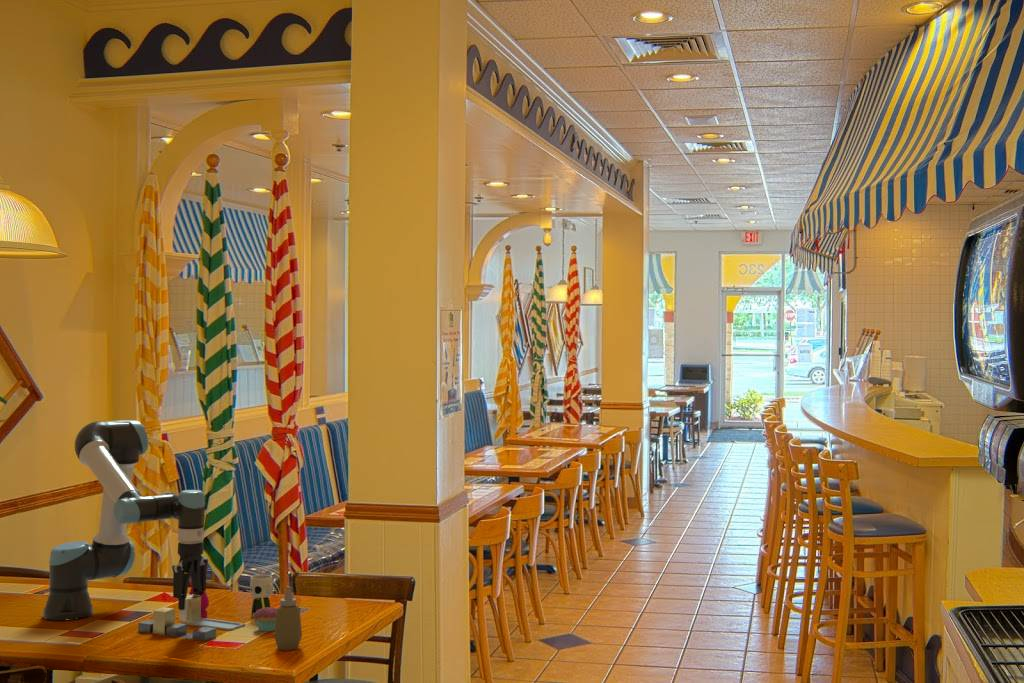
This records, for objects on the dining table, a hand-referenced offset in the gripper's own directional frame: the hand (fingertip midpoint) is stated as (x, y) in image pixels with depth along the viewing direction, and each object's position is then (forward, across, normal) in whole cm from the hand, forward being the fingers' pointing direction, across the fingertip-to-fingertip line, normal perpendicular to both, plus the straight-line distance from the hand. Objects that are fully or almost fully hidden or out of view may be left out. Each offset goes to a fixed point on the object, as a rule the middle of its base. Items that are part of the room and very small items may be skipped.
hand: (189, 617), depth 323 cm
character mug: (+6, +31, -3) cm, 32 cm away
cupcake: (+6, +17, -16) cm, 24 cm away
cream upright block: (+5, 0, +10) cm, 11 cm away
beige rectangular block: (+1, 0, 0) cm, 1 cm away
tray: (+6, +14, +2) cm, 15 cm away
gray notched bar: (+6, 0, +5) cm, 7 cm away
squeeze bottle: (+6, +3, -34) cm, 35 cm away
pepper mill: (+6, +21, +15) cm, 26 cm away
